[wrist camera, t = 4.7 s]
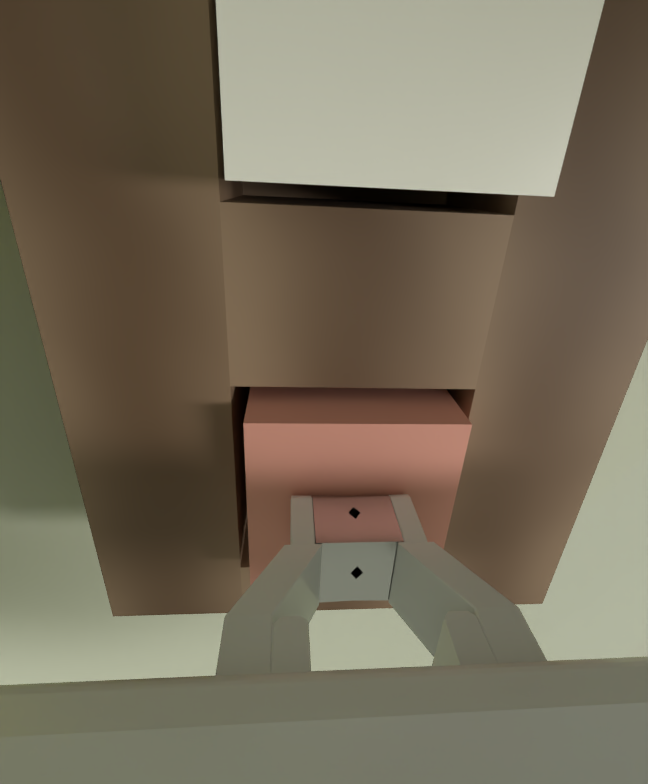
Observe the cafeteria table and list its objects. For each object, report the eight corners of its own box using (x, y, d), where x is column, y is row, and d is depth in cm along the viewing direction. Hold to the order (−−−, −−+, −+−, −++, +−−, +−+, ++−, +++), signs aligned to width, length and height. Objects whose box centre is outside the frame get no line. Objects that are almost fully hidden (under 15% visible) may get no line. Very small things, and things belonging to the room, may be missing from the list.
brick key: (424, 359, 13) (472, 424, 10) (403, 491, 16) (435, 583, 12) (256, 356, 13) (243, 423, 9) (260, 492, 15) (250, 587, 12)
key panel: (660, -158, 10) (952, -425, 6) (483, 503, 19) (542, 603, 14) (38, -234, 9) (-211, -642, 5) (158, 506, 18) (113, 616, 13)
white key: (516, -111, 8) (691, -338, 5) (464, 190, 10) (554, 196, 7) (239, -141, 8) (194, -418, 4) (249, 180, 10) (225, 180, 6)
